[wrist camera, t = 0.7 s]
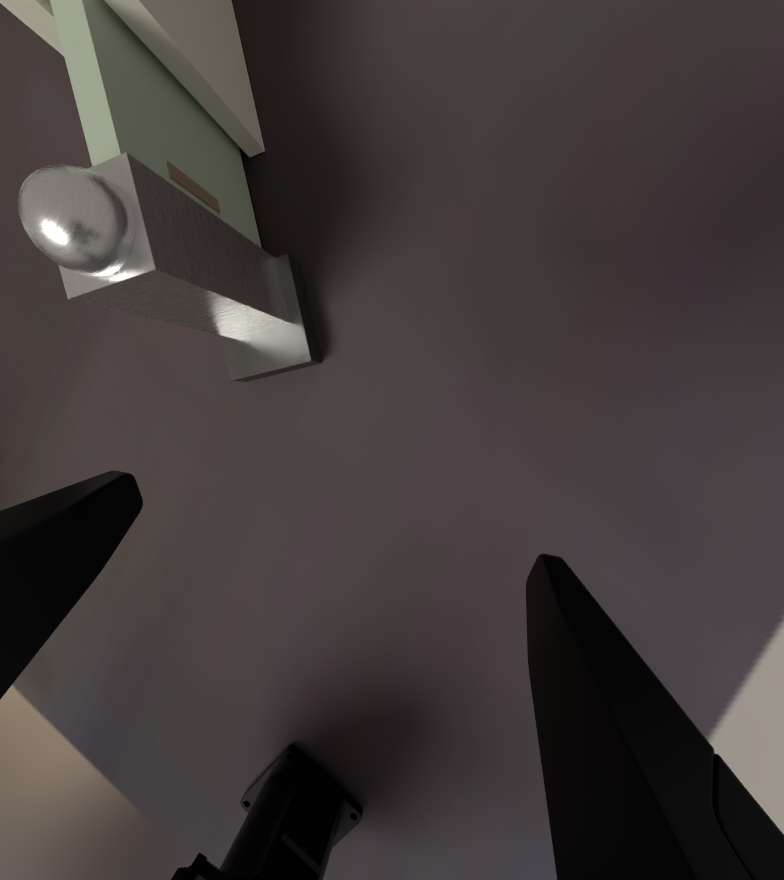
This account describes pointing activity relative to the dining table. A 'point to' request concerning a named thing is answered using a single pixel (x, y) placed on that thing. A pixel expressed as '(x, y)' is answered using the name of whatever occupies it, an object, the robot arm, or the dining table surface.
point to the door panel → (148, 113)
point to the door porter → (169, 262)
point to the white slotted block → (181, 53)
